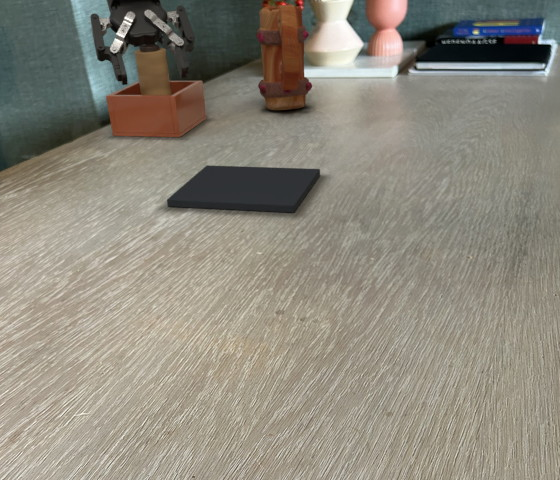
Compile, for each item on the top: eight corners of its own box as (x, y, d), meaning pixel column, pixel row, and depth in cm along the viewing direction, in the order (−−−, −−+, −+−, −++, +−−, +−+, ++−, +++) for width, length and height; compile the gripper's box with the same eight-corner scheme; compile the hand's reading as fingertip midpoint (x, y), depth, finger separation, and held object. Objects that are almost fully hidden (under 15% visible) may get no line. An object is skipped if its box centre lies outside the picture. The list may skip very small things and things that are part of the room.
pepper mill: (140, 127, 99) (128, 48, 93) (153, 119, 103) (141, 43, 97) (168, 127, 98) (157, 48, 92) (179, 120, 102) (169, 43, 96)
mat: (167, 206, 72) (166, 199, 71) (207, 171, 81) (206, 165, 81) (294, 213, 68) (293, 205, 68) (320, 175, 78) (320, 168, 77)
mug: (257, 103, 110) (250, -1, 102) (306, 99, 111) (303, -4, 102) (265, 125, 98) (258, 9, 90) (320, 121, 98) (318, 5, 90)
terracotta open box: (113, 135, 98) (105, 96, 95) (144, 117, 106) (138, 80, 103) (180, 137, 95) (174, 96, 92) (206, 118, 103) (202, 80, 100)
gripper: (76, -35, 93) (103, 66, 91) (176, -43, 97) (205, 54, 94) (81, 5, 101) (106, 100, 98) (174, -4, 104) (200, 88, 101)
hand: (154, 77), depth 96 cm, fingers open, 8 cm apart
